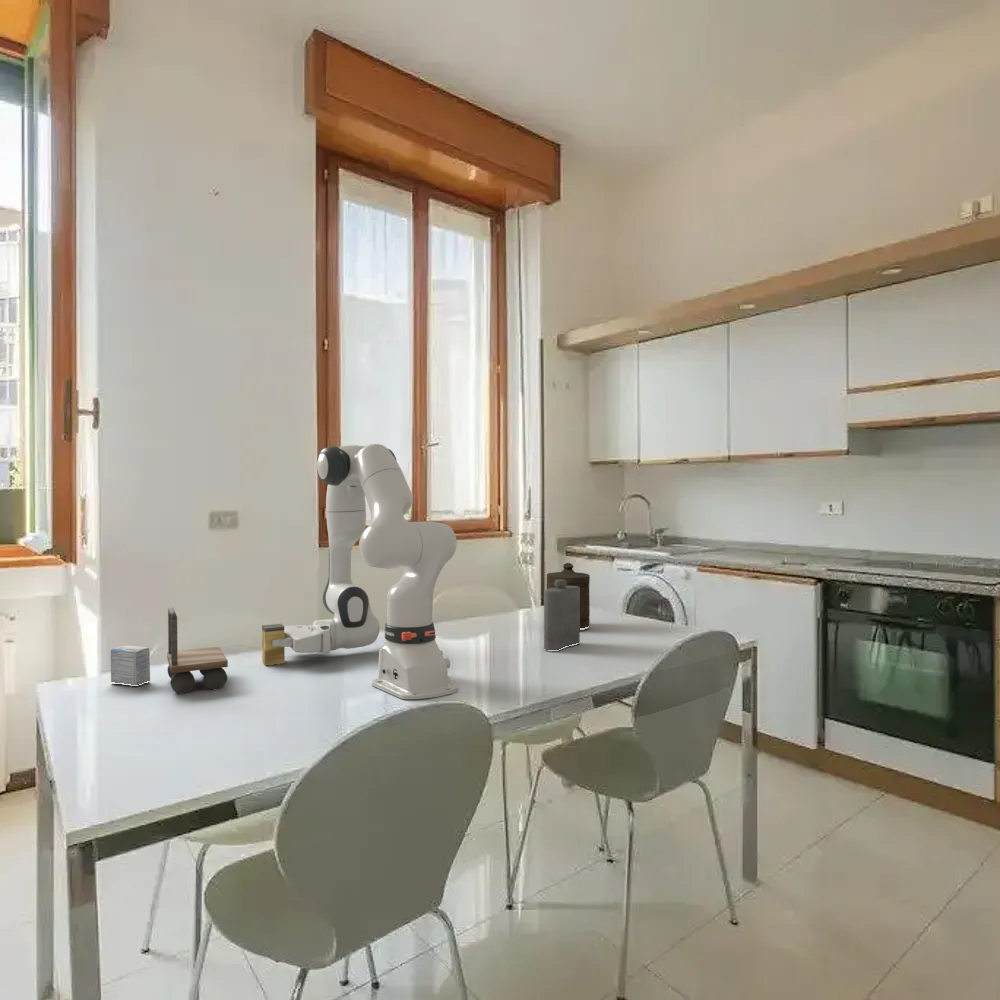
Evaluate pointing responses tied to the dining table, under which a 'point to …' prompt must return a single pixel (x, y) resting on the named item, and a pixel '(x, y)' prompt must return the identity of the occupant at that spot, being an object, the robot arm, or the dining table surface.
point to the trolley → (193, 662)
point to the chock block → (268, 651)
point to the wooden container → (574, 580)
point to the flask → (561, 616)
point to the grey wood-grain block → (130, 665)
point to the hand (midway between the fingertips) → (269, 640)
